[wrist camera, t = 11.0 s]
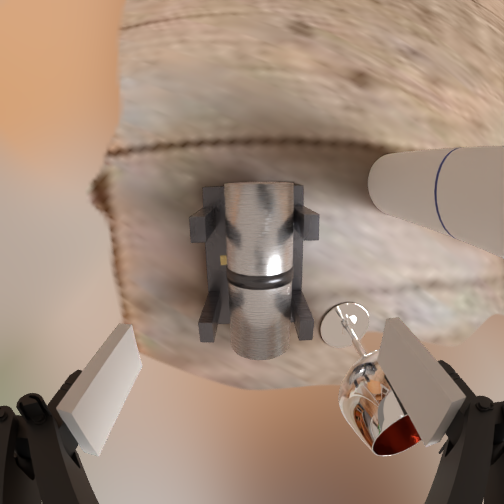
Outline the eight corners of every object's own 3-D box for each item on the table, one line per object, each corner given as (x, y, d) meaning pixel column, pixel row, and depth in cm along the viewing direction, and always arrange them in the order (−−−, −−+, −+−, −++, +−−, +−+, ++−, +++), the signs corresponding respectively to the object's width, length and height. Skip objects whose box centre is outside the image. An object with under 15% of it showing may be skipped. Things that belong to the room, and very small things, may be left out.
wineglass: (323, 290, 31) (387, 399, 14) (383, 299, 32) (467, 390, 14) (305, 349, 33) (339, 469, 16) (362, 354, 34) (417, 456, 17)
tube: (280, 324, 32) (298, 355, 26) (227, 330, 31) (234, 364, 25) (282, 181, 28) (305, 184, 22) (220, 182, 27) (226, 185, 21)
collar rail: (204, 187, 28) (187, 191, 21) (301, 185, 28) (320, 188, 21) (212, 319, 32) (202, 359, 25) (298, 317, 32) (311, 357, 25)
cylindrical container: (366, 151, 27) (585, 135, 3) (419, 156, 27) (613, 165, 3) (367, 216, 29) (568, 313, 5) (419, 216, 29) (601, 290, 5)
